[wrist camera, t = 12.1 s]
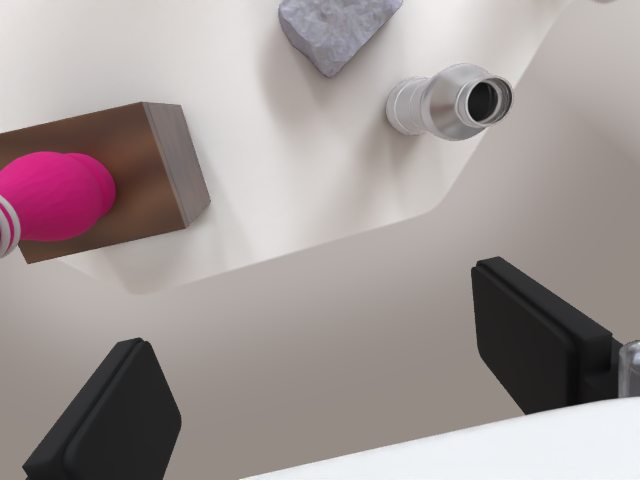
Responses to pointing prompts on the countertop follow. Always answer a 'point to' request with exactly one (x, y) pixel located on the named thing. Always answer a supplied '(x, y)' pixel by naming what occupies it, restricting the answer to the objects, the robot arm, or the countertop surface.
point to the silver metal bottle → (450, 103)
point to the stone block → (333, 28)
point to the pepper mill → (52, 197)
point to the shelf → (122, 172)
